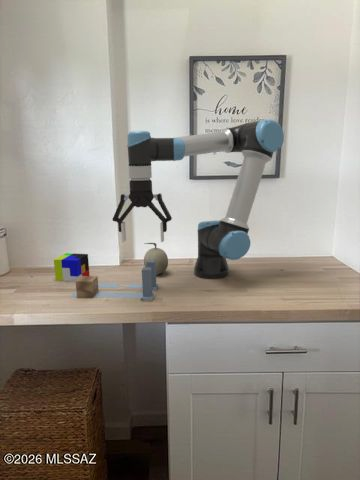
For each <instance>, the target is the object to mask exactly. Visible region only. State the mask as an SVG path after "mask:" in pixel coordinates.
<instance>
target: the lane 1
mask: <svg viewBox="0 0 360 480" xmlns="http://www.w3.org/2000/svg"><path fill="white" fill-rule="evenodd" d="M141 281H142V282H141V284H142V288H141V289H142V292H128V291H127V292H124V291H121V292H119V291H117V292H114V291H111V292H110V291H99V292H98V293H97V294H96V295H95V296H94V298H112V299H113V298H116V299H117V298H118V299H119V298H120V299H123V298H124V299H139V301H141V302H143V301H145V302H146V301H147V302H149V301H150V302H153V300H154V297H155V292H154V291H152V267H145V266H144V267H143V266H142V269H141ZM69 298H78V297H77V292H76V291H73V293H72V294H71V295H69Z"/></svg>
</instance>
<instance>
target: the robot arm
mask: <svg viewBox="0 0 360 480" xmlns="http://www.w3.org/2000/svg"><path fill="white" fill-rule="evenodd" d="M282 129H283V128H282V126H281V125H280V123H279V122H277V121H276V120H274V119H262V120H257V121H252V122H245V123H243V124H240V125H236V126H233V127H227V128H224V129H222V131H216V132H210V133H209V132H208V133H202V134H201V133H200V134H194V135H193V134H192V135H186V136H179V137H178V136H177V137H152V136H151V132H150V131H147V130H132V131H129V132H128V133H127V145H126V147H127V158H128V178H129V179H130V180H129V194H126V193H122V194H121V195H120V201H119V203H118V205H117V208H116V210H115V211H114V212H115V213H114V215H113V217H112V221H113V222H116V223H118V224H117V227H118V232H119V233H121V242H122V243H124V242H126V241H127V231H126V222H125V221H124V220H125V219H126V218H127V216H128V215H129V214H130V213H131V211H132V210H133V209H134V208H147V207H148V209H149V208H150V209H151V211H152V212H153V214H155V215H156V216H157V217H158V219H159V220H160V221H161V222H160V224H159V225H160V226H159V227H160V228H159V229H160V243H164V241H165V234H164V233H166V232H167V230H168V228H167V227H168V225H167V224H168V222H170V221H171V220H172V219H173V218H172V216H171V212H170V211H169V210H168V208H167V206H166V204H165V202H164V200H163V195H162V193H156V194H153V181H152V177H153V176H152V175H153V174H152V173H153V172H152V171H153V170H152V162H167V161H168V162H171V161H172V162H175V161H183V159H184V158H185V157H191V156H199V155H204V154H205V155H206V154H211V153H220V152H224V153H226V154H229V153H241V154H242V156H243V159H242V163H241V167H240V170H239V172H238V175H237V179H236V182H235V186H234V188H233V192H232V195H231V198H230V200H229V201H230V202H229V204H228V208H227V211H226V213H225V217H223V218H222V219H220V220H206V221H205V220H204V221H201V222H199V223H198V225H197V258H196V261H195V265H194V268H193V274H194V275H195V276H197V277H198V278H202V279H208V280H209V279H211V280H213V279H222V278H225V277H228V276H229V275H230V268H229V264H228V260H231V261H236V260H239V259H241V258H242V257H243V258H244V257H245V256H246V255H247V253H248V252H249V250H250V247H251V239H250V236H249V231H250V227H249V225H248V220H249V218H250V215H251V211H252V209H253V205H254V203H255V199H256V197H257V196H256V195H257V192H258V191H259V190H258V189H259V186H260V183H261V180H262V177H263V175H264V174H263V173H264V171H265V168H266V164H268V163H269V162H270V161H272V158H273V155H274V153H275V152H277V151H278V150H281V148H282V146H283V144H284V141H285V140H284V139H285V133H284V130H282ZM128 199H129V201H130V204H129V205H128V207H127V208H126V210H125V211H124V212H123V214H121V212H122V210H123V208H124V205H125V203H126V201H127V200H128ZM153 200H156V201H157V202H158V204H159V207H160V208H161V210H162V212H163V213H162V212H161V211H160V210H159V209H158V208H157V207H156V206H155V204H154V203H153V202H152V201H153ZM120 214H121V216H120ZM163 214H164V215H165V216H164V215H163ZM227 259H228V260H227Z"/></svg>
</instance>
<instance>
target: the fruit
mask: <svg viewBox="0 0 360 480" xmlns="http://www.w3.org/2000/svg"><path fill="white" fill-rule="evenodd" d="M144 244H145V245H153V246H154V247H152V248H150V249H148V250H147V251H146V252H145V254H144V257H143V264H144V267H147V263H146V262H147V261H148V260H156V276H158V275H161V274H163V273H165V272H166V270H167V269H168V265H169V258H168V255H167V253H166V251H164V250H163V249H162V248H159V247H157V243H156V242H146V243H144Z"/></svg>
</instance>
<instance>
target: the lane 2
mask: <svg viewBox="0 0 360 480" xmlns="http://www.w3.org/2000/svg"><path fill="white" fill-rule="evenodd" d="M146 263H147V267H152V292H157V291H158V288H159V283H157V275H156V260H148V261H147V262H146ZM124 289H143V288H142V283H126V285H125V287H124Z"/></svg>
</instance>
